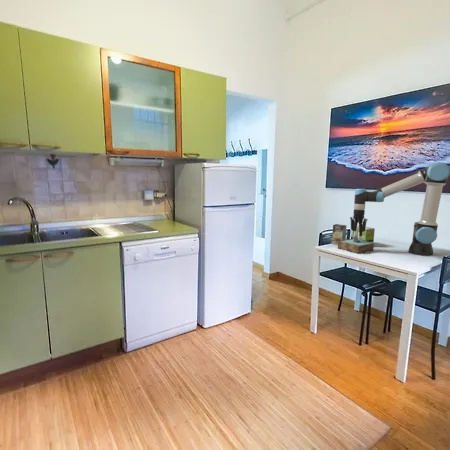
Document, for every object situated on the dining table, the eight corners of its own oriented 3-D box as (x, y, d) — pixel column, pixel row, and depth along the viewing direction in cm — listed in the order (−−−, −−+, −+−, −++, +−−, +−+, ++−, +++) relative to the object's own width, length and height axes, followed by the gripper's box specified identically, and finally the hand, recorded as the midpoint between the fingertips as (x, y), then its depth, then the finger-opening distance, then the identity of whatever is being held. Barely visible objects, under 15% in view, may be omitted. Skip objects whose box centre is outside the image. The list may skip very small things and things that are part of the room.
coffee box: (331, 243, 239) (332, 224, 237) (335, 242, 243) (336, 223, 241) (341, 245, 232) (343, 226, 230) (345, 244, 236) (346, 225, 234)
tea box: (349, 243, 240) (351, 226, 238) (358, 242, 244) (359, 225, 242) (365, 247, 227) (366, 228, 224) (373, 245, 231) (375, 228, 228)
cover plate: (373, 243, 213) (373, 237, 212) (359, 246, 205) (359, 239, 205) (354, 240, 227) (355, 234, 226) (340, 242, 219) (341, 236, 219)
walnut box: (373, 250, 214) (373, 242, 213) (357, 253, 206) (358, 245, 205) (352, 245, 230) (353, 238, 229) (337, 248, 221) (338, 240, 220)
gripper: (346, 208, 217) (344, 238, 221) (365, 210, 203) (363, 242, 207) (353, 208, 221) (351, 237, 225) (372, 210, 207) (369, 241, 211)
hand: (356, 239), depth 216 cm, fingers closed on cover plate, 3 cm apart
